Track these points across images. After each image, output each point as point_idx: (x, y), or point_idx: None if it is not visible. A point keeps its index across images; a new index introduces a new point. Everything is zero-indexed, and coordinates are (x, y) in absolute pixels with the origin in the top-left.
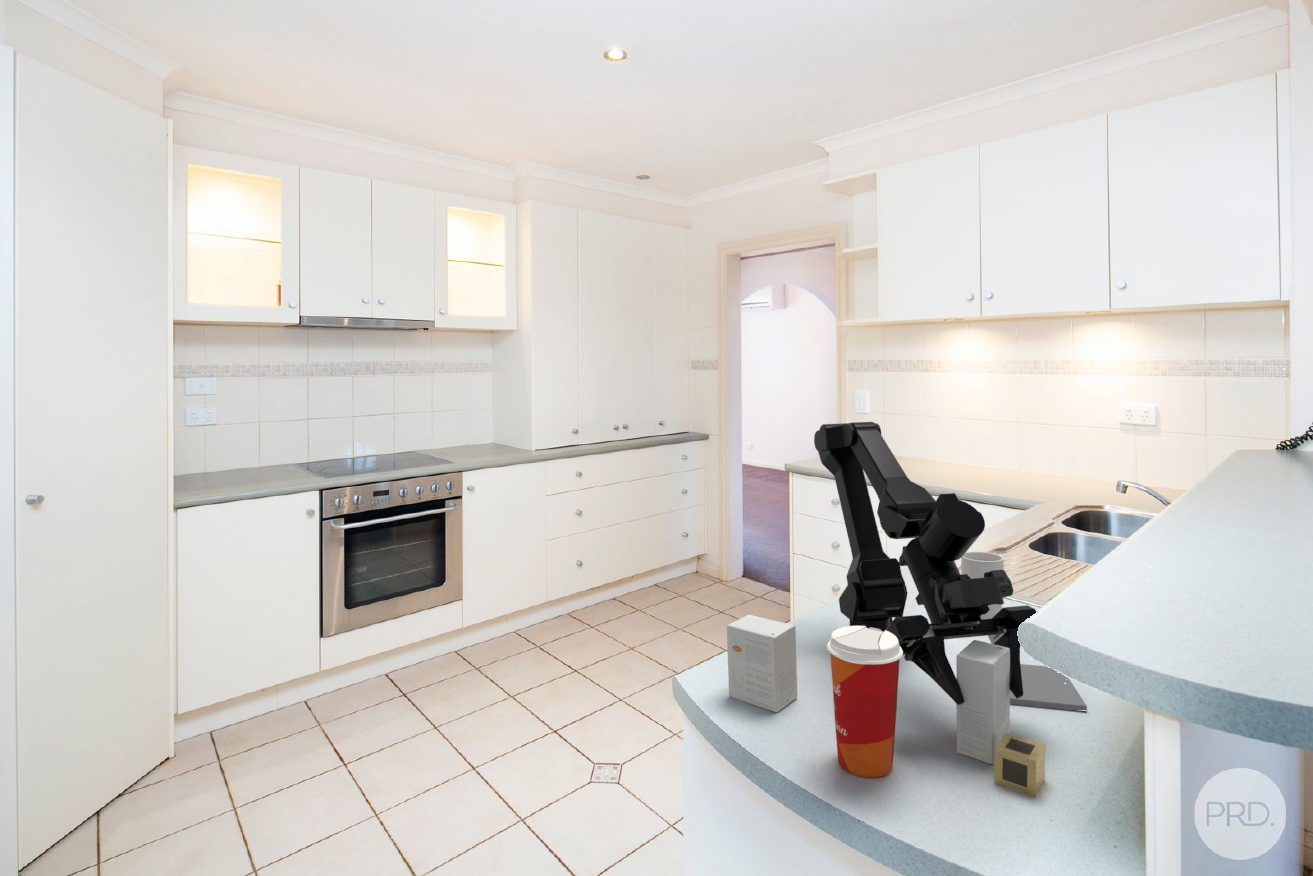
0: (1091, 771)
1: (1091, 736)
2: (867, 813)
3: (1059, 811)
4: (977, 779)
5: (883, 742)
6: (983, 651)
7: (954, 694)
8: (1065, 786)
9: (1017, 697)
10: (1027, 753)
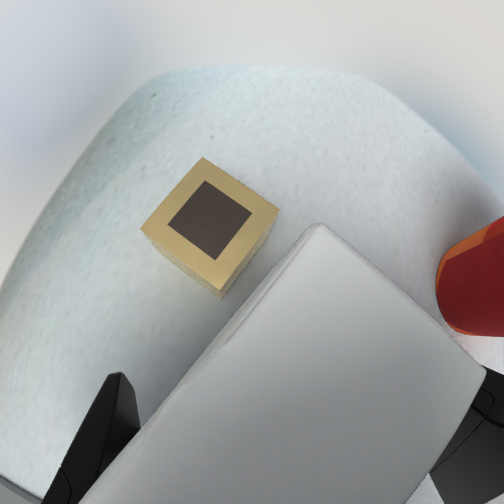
0: (59, 282)
1: (10, 403)
2: (460, 165)
3: (185, 157)
4: None
5: (490, 224)
6: (305, 469)
7: None
8: (131, 230)
9: (130, 386)
10: (206, 187)
